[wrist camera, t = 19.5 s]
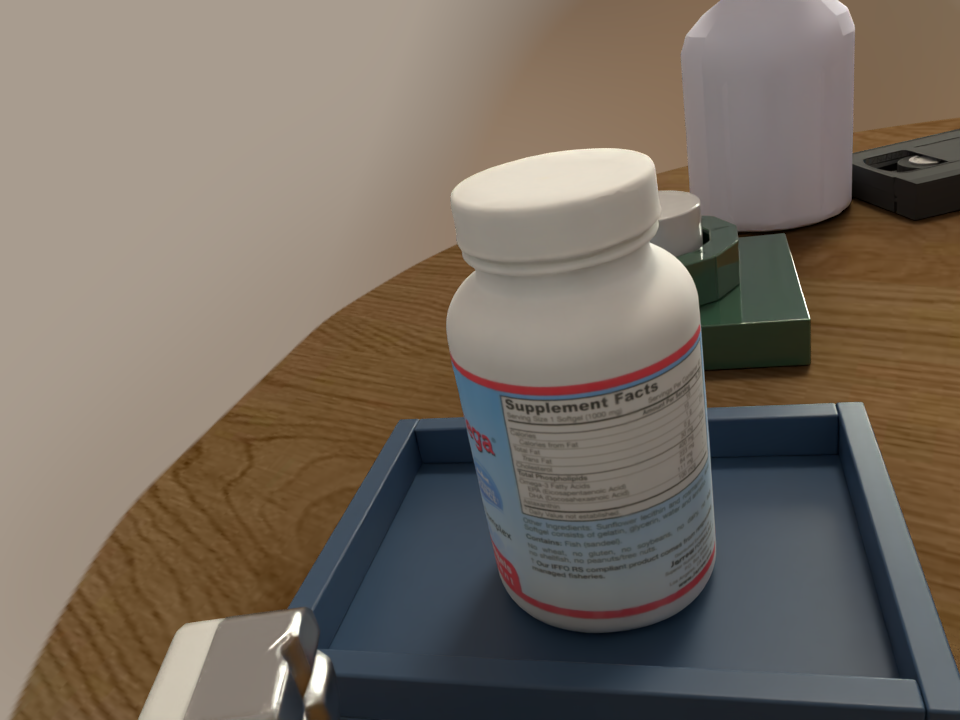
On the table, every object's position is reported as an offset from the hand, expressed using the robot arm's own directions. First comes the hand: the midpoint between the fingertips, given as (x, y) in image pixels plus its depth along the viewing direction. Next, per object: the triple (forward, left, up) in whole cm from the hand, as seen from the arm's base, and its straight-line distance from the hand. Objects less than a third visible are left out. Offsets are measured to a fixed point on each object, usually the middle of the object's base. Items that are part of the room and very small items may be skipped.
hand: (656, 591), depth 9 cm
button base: (-2, +27, -9) cm, 29 cm away
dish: (-3, +10, -9) cm, 14 cm away
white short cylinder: (-2, +27, -6) cm, 28 cm away
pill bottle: (-3, +10, -9) cm, 14 cm away
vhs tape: (+16, +44, -9) cm, 48 cm away
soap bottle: (+4, +42, -9) cm, 44 cm away
